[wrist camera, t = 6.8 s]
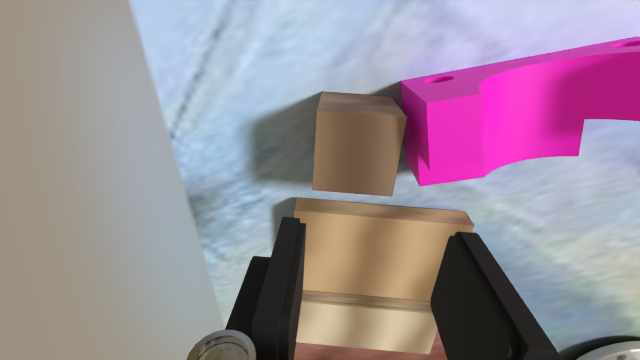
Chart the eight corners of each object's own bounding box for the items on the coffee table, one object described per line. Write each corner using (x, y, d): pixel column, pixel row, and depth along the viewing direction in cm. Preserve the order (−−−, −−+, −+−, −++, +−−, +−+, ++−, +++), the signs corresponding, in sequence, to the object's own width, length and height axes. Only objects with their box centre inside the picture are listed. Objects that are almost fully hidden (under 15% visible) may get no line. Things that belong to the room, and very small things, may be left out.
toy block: (406, 160, 25) (431, 209, 18) (399, 80, 22) (426, 102, 16) (614, 128, 23) (728, 169, 16) (633, 36, 20) (778, 40, 14)
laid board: (437, 294, 31) (443, 312, 29) (424, 336, 33) (429, 355, 31) (294, 282, 31) (291, 298, 29) (292, 324, 34) (289, 342, 32)
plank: (465, 211, 26) (474, 226, 24) (439, 289, 30) (445, 306, 28) (296, 197, 26) (293, 211, 24) (294, 276, 31) (291, 292, 29)
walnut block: (390, 96, 23) (407, 117, 17) (380, 160, 25) (392, 196, 20) (322, 91, 23) (316, 110, 18) (317, 155, 25) (312, 190, 20)
